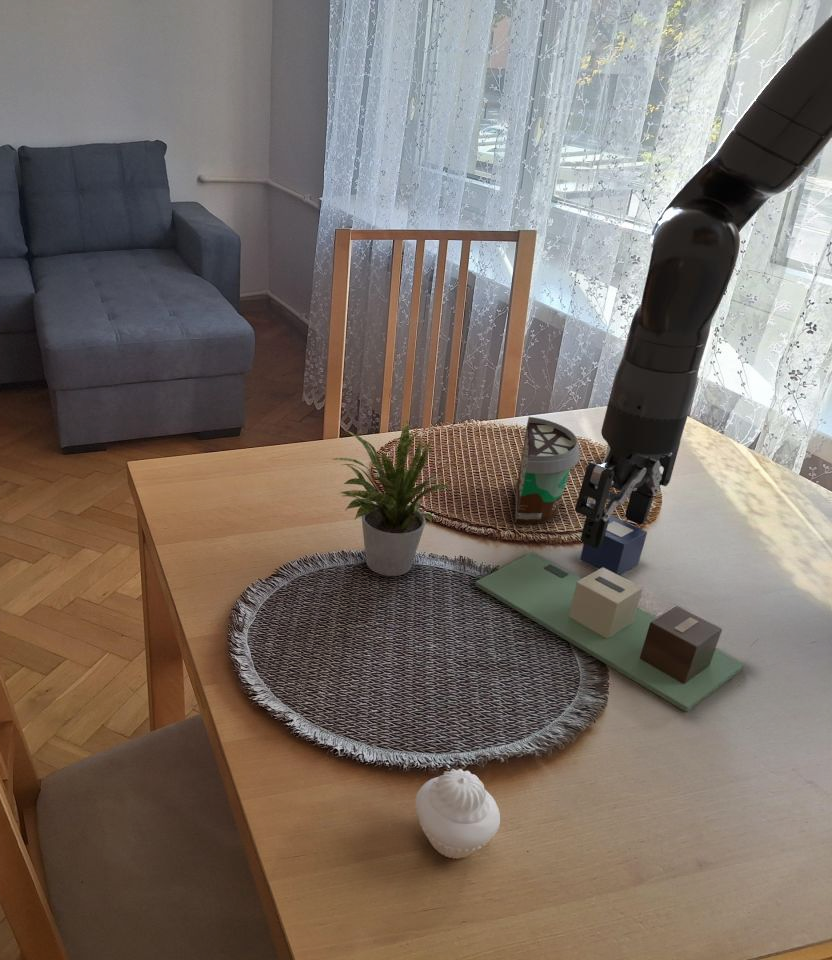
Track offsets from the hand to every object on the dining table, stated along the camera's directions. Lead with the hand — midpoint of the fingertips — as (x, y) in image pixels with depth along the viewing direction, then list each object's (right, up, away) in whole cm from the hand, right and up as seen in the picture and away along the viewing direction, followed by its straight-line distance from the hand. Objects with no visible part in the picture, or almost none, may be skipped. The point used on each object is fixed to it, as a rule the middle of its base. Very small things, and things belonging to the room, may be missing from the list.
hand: (613, 532), depth 97 cm
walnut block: (-1, -12, -14) cm, 18 cm away
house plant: (-25, -3, +4) cm, 26 cm away
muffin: (-28, -22, -30) cm, 46 cm away
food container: (-3, +2, +13) cm, 13 cm away
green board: (-5, -9, -8) cm, 13 cm away
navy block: (0, -4, +2) cm, 4 cm away
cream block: (-5, -9, -8) cm, 13 cm away
